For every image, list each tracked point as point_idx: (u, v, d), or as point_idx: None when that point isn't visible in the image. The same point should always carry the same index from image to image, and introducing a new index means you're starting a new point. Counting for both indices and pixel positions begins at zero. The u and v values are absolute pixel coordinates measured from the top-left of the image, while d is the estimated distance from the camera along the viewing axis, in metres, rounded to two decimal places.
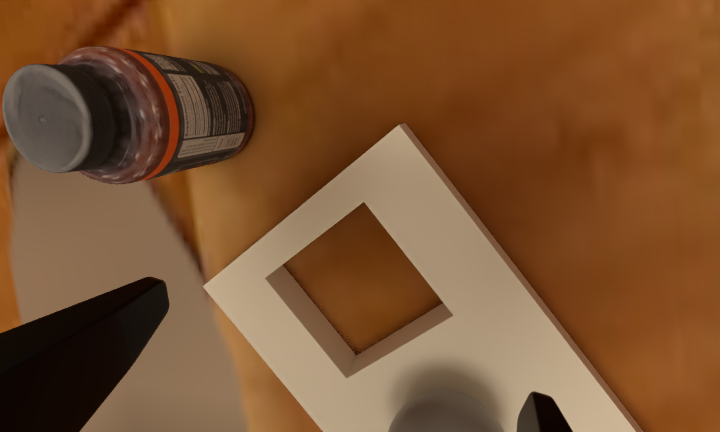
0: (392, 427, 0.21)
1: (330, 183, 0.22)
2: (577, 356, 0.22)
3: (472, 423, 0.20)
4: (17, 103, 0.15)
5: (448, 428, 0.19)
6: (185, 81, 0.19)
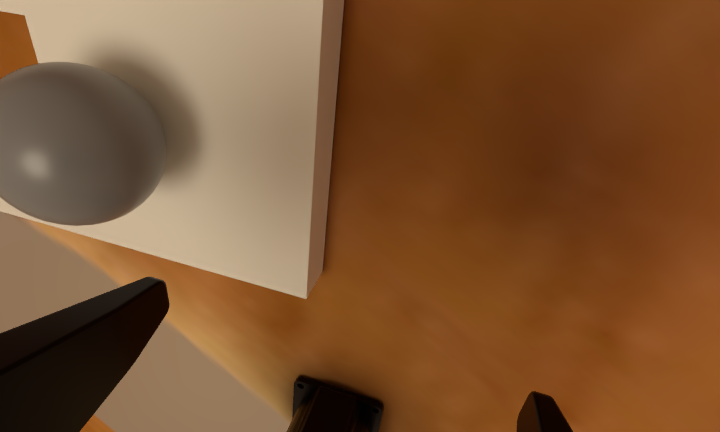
0: None
1: None
2: None
3: (7, 75, 0.15)
4: None
5: None
6: None
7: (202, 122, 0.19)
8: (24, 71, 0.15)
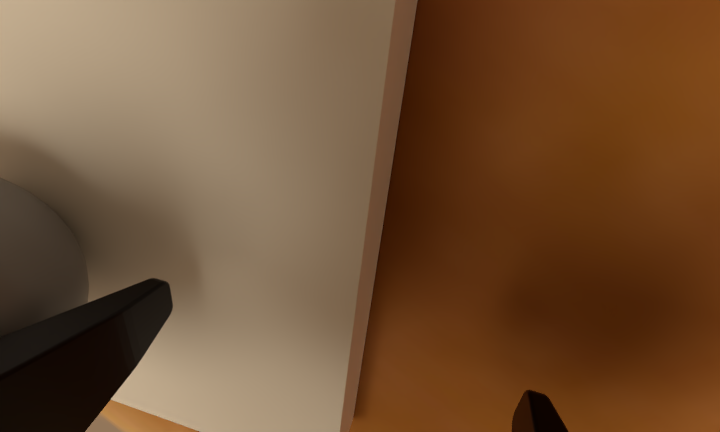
0: None
1: None
2: None
3: None
4: None
5: None
6: None
7: (166, 242, 0.11)
8: None
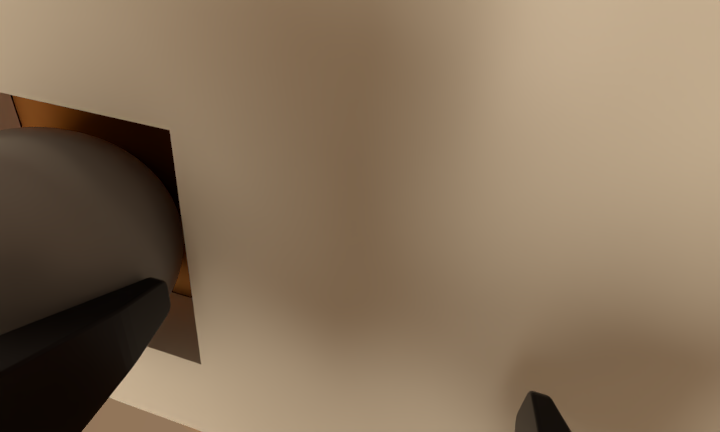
0: None
1: None
2: None
3: None
4: None
5: None
6: None
7: (515, 337, 0.09)
8: None
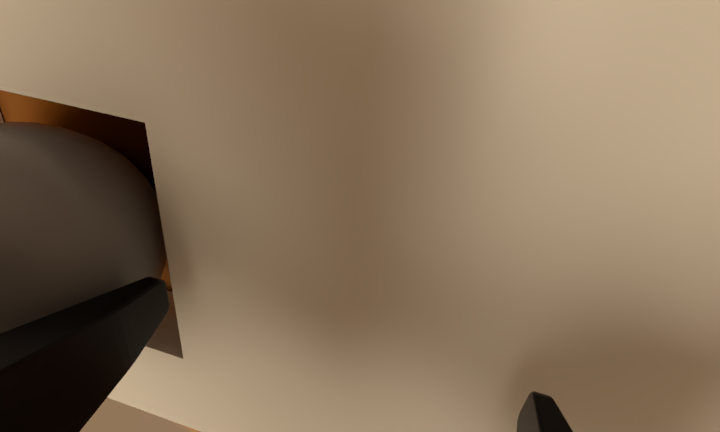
0: None
1: None
2: None
3: None
4: None
5: None
6: None
7: (490, 331, 0.09)
8: None
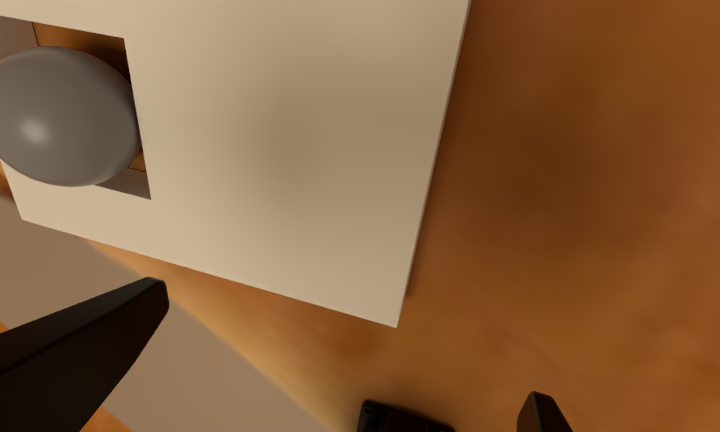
0: None
1: None
2: None
3: None
4: None
5: None
6: None
7: (306, 148, 0.18)
8: None
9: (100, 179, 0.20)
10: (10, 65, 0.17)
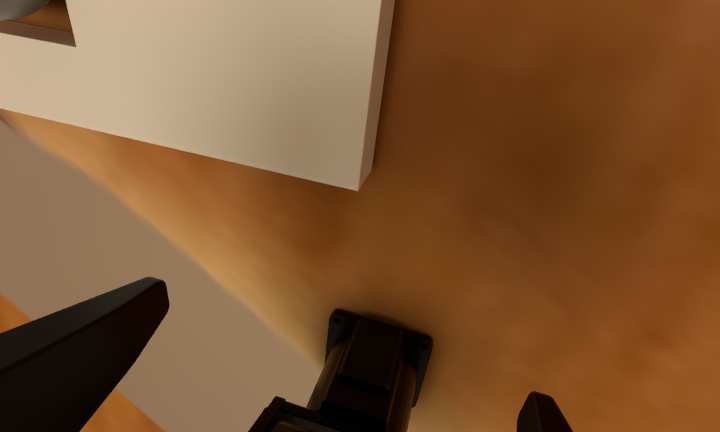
0: None
1: None
2: None
3: None
4: None
5: None
6: None
7: None
8: None
9: (0, 4, 0.17)
10: None
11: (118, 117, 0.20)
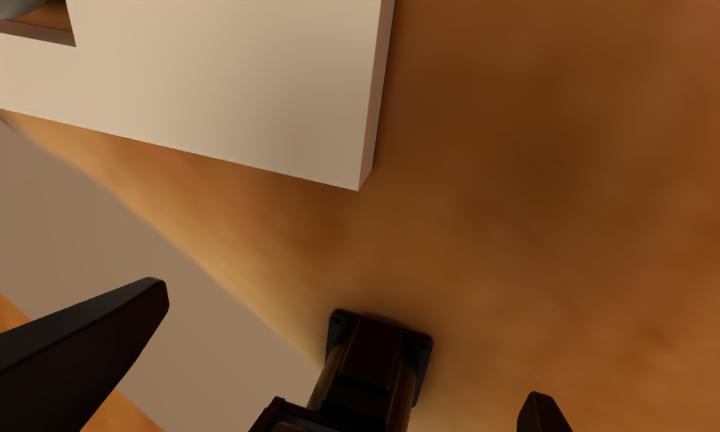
0: None
1: None
2: None
3: None
4: None
5: None
6: None
7: None
8: None
9: None
10: None
11: (118, 117, 0.20)
